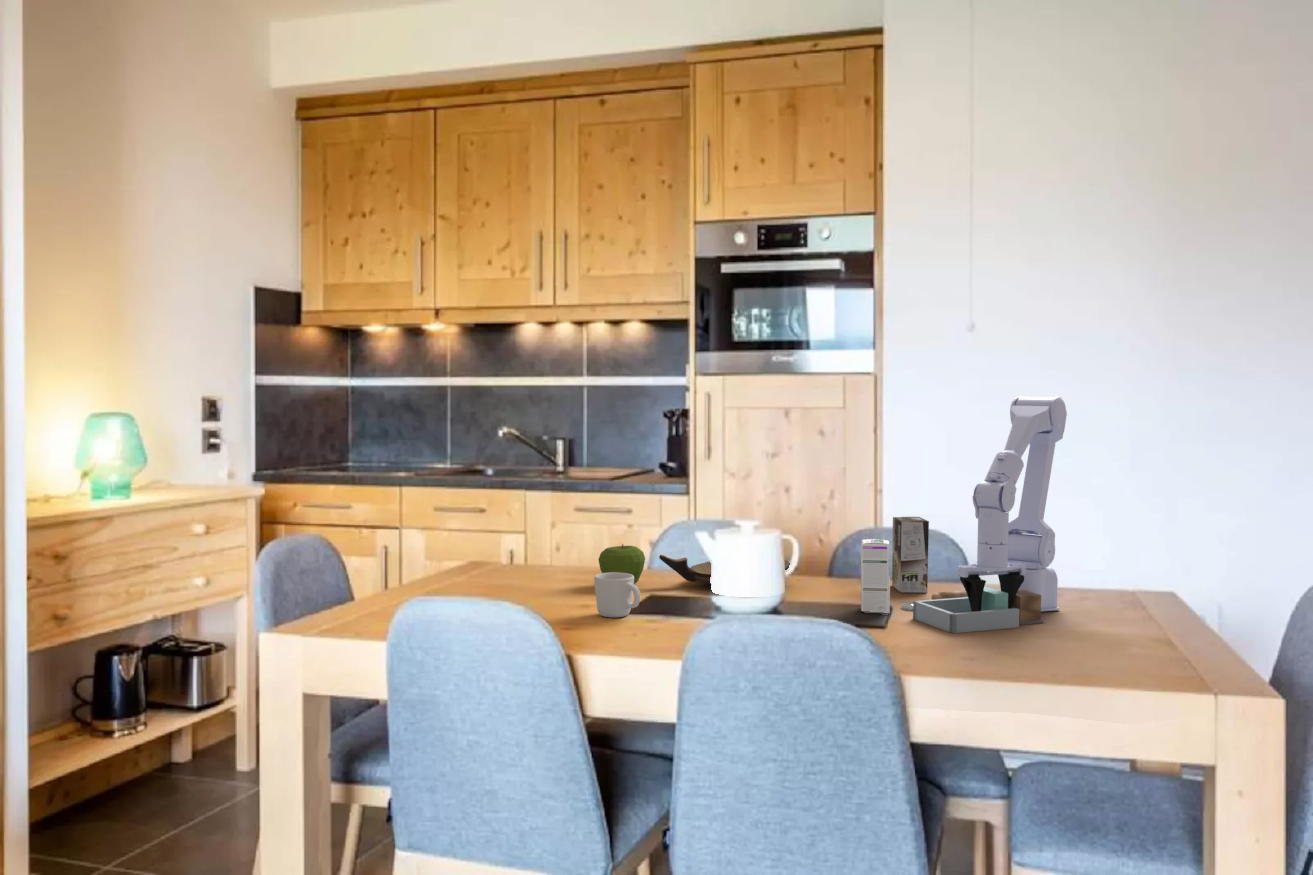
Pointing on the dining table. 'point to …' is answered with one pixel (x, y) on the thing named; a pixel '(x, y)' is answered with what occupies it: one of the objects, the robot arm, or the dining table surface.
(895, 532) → the coffee box
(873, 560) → the syrup box
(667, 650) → the dining table surface
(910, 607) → the washer
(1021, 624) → the strips
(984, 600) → the green block
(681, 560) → the oil lamp
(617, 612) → the cup
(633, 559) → the apple
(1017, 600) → the cube
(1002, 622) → the tray
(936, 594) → the dowel
